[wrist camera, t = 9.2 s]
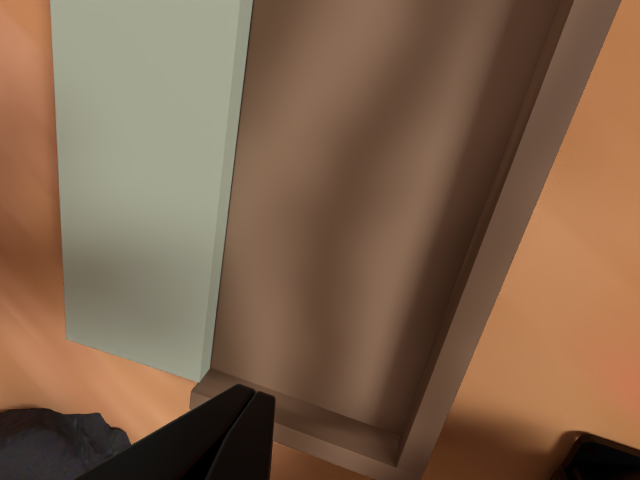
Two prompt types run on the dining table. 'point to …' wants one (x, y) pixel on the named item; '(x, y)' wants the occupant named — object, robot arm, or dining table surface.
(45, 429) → the dark slate chunk
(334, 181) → the brown shallow tray
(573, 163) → the dining table surface
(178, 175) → the tailgate
